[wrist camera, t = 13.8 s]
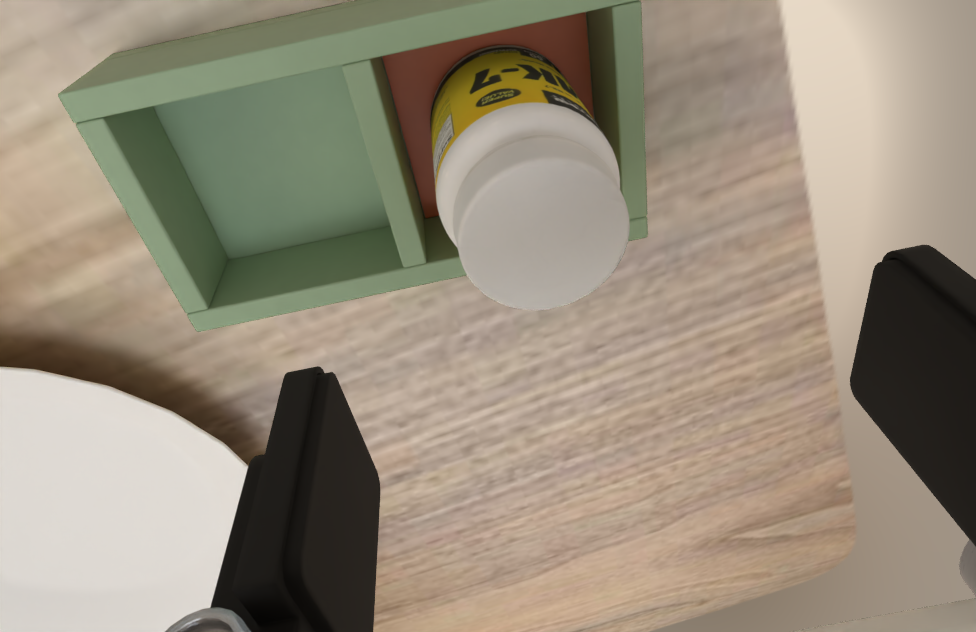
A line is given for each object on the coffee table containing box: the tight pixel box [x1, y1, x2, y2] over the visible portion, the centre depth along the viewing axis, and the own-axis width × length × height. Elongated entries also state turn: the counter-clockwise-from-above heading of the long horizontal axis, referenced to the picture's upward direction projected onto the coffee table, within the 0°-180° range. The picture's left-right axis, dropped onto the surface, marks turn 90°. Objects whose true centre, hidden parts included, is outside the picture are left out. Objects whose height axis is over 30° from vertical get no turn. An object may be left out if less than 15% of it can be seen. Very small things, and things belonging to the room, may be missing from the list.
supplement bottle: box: [430, 45, 630, 310], centre depth 18 cm, size 5×5×8 cm
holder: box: [58, 0, 648, 332], centre depth 20 cm, size 8×15×4 cm, turn 100°
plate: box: [0, 367, 249, 632], centre depth 30 cm, size 21×21×2 cm
